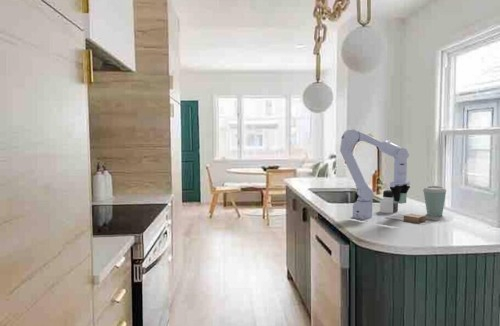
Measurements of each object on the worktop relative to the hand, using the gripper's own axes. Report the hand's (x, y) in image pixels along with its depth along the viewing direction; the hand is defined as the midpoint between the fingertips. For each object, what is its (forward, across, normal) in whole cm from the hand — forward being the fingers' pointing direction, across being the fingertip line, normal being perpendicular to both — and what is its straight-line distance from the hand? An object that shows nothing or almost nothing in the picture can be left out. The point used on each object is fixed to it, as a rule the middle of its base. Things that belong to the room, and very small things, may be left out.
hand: (399, 200), depth 201 cm
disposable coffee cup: (+9, +19, -8) cm, 22 cm away
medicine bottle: (+9, +9, +11) cm, 17 cm away
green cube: (+1, 0, 0) cm, 1 cm away
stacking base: (+9, -1, -7) cm, 11 cm away
